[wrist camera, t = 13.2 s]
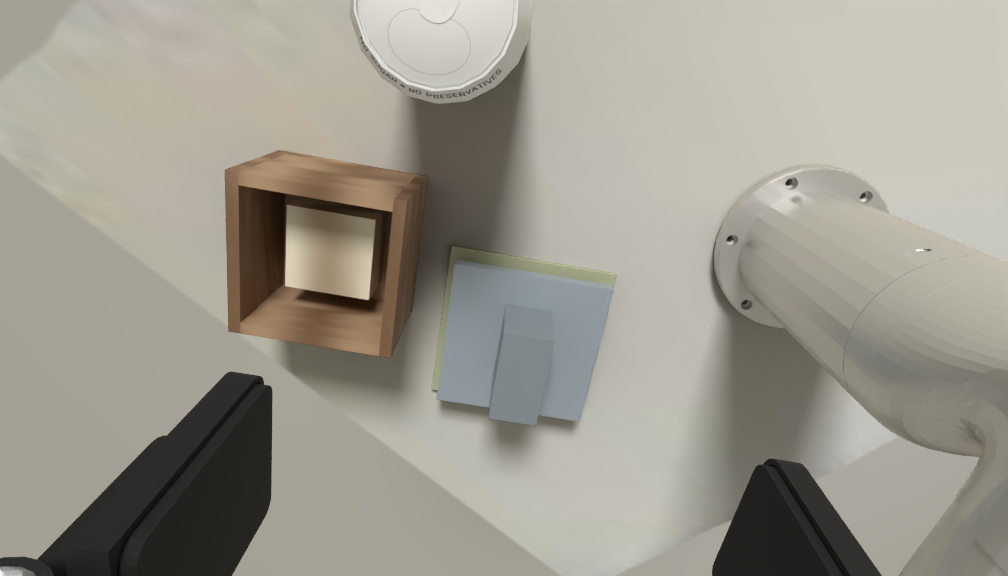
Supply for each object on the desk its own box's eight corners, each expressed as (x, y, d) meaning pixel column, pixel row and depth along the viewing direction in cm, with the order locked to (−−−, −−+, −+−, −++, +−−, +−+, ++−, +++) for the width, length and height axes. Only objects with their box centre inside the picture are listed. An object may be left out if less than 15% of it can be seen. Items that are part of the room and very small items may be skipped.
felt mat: (615, 273, 43) (616, 275, 43) (579, 410, 48) (579, 413, 48) (452, 245, 43) (451, 247, 42) (432, 386, 48) (431, 389, 47)
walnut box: (427, 176, 41) (406, 201, 33) (412, 309, 45) (390, 358, 38) (279, 150, 40) (224, 169, 33) (277, 286, 45) (228, 331, 37)
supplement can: (511, 103, 39) (506, 126, 25) (396, 72, 38) (325, 76, 24) (544, -24, 36) (558, -80, 22) (419, -61, 35) (353, -142, 21)
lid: (609, 280, 43) (625, 318, 37) (577, 407, 48) (585, 461, 41) (457, 255, 43) (446, 289, 36) (439, 386, 47) (426, 437, 41)
